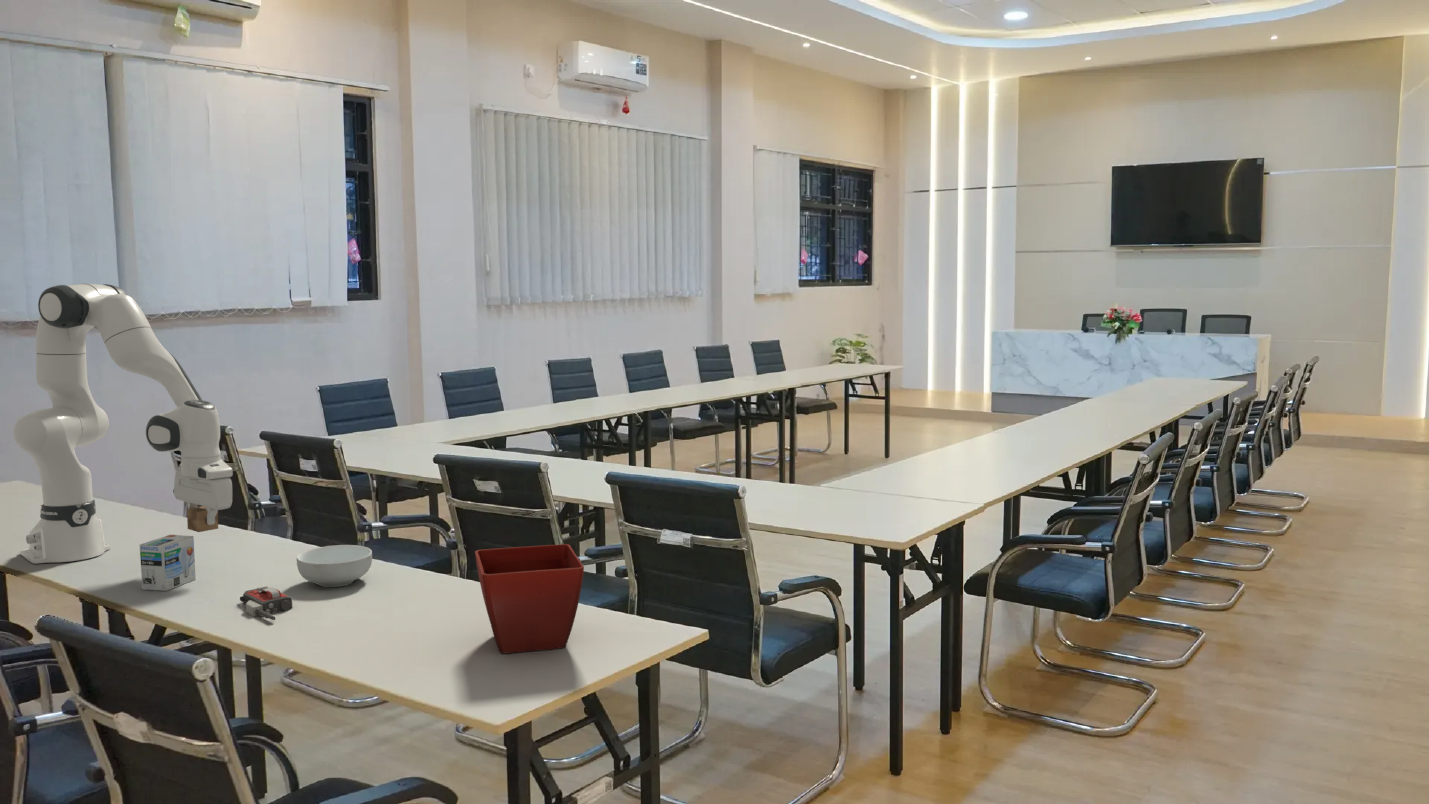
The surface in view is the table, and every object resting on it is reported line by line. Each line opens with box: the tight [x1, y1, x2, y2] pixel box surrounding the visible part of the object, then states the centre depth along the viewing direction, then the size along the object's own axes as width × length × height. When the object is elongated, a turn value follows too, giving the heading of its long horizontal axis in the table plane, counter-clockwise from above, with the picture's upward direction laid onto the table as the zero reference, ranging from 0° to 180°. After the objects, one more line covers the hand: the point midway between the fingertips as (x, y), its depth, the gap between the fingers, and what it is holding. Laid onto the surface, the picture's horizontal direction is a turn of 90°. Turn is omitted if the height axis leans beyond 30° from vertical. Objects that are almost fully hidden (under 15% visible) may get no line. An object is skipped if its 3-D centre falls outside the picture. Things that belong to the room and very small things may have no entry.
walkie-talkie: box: [239, 585, 293, 621], centre depth 235 cm, size 9×4×20 cm
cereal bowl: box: [296, 544, 373, 588], centre depth 256 cm, size 17×17×7 cm
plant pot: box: [474, 543, 585, 654], centre depth 213 cm, size 19×19×17 cm
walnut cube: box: [186, 506, 219, 533], centre depth 268 cm, size 5×5×5 cm
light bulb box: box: [139, 534, 197, 592], centre depth 254 cm, size 11×7×11 cm, turn 169°
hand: (202, 522), depth 268 cm, fingers closed on walnut cube, 5 cm apart
